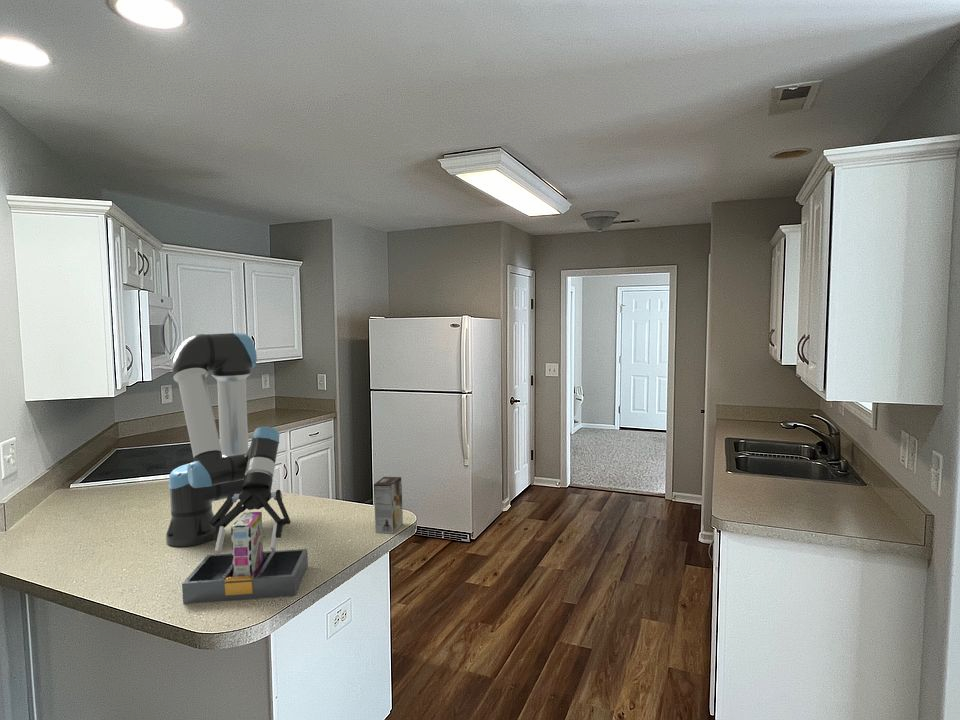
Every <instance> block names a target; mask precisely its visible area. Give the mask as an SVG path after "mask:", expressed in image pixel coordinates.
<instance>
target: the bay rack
mask: <svg viewBox="0 0 960 720" xmlns="http://www.w3.org/2000/svg"><path fill="white" fill-rule="evenodd" d="M308 553H309V552H308V548H299V549H297V548H296V549H283V550H276V551H274V552H272V550H269V551H268V550H266V551H264V550H263V566H262V568H261V569H260V571H259V573H258V574H257V576H256V577H254V575H251V576H236V577H233V565H232V552H231V553H221V555H217V553H215V554H207V555H206V556H205V557H204V559H202V561H201V562H200V563H199V564H198V565H197V566H196V568H194V569H193V571H192V572H191V573H190V574H189V575H188V576H187V578H186V579H185V580H184V581H183V582H182V583H181V585H182V586H181V588H182V591H181V592H182V604H183V605H184V604H194V603H195V604H197V603H210V602H212V603H214V602H224V601H225V602H226V601H239V600H250V599H251V600H252V599H254V600H255V599H266V598H267V599H268V598H280V596H283V597H295V596H296V594H297V592H298V590H299V588H300V586H301V583H302V581H303V579H304V577H303V576H305V574H306V572H305V571H307V570H306V569H308V568H309V560H308V559H309V557H308V556H309V555H308ZM307 567H308V568H307ZM302 578H303V579H302ZM278 596H279V597H278Z"/></svg>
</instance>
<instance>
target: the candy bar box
mask: <svg viewBox="0 0 960 720" xmlns="http://www.w3.org/2000/svg"><path fill="white" fill-rule="evenodd" d="M262 516H263V514H262V511H250V512H242V514H241V515H240V517H238V519H237V520H236V521H234V523H233V524H232V525H231V527H230V531H231V532H230V534H231V536H230V538H231V553H232V565H233V577H236V576H251V575H254V577H256V576H257V574H258V573H259V571H260V569H261V568H262V566H263V551H264V550H263V549H264V546H263V520H262V519H263V517H262Z"/></svg>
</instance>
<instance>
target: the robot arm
mask: <svg viewBox="0 0 960 720" xmlns="http://www.w3.org/2000/svg"><path fill="white" fill-rule="evenodd" d="M257 359H258V358H257V351H256V347H255V344H254V342H253V340H252V338H251V337H250V336H249V335H248V334H247V333H239V332H238V333H237V332H232V333H231V332H229V333H228V332H227V333H207V334H205V333H201V334H200V333H198V334H195V335H192V336H190V337H188V338H187V339H185V340H184V341H183V342H182V343H181V344H180V345H179V346H178V348H177V349H176V351H175V354H174V356H173V359H172V363H171V372H172V378H173V381H174V382H176V383H177V384H178V387H179V393H180V398H181V403H182V404H181V405H182V409H183V413H184V417H185V424H186V428H187V432H188V436H189V442H190V447H191V451H192V452H191V453H192V457H193V461H192V462H190V463H186V464H183V465H180V466H178V467H175V468H174V469H172V471H170V473H169V479H168V481H169V482H168V489H169V499H170V500H169V501H170V502H169V503H170V515H171V516H170V520H169V524H168V526H167V531H166V535H165V537H166V538H165V542H166V544H167V545H169V546H172V547H189V546H190V547H191V546H196V545H201V544H205V543H207V542H210V541H213V540H214V541H215V548H214V552H215V554H217V555H221V554H222V552H223V551H222V550H223V547H224V541H225V537H226V532H227V531H226V527H227V526H228V525H229V524H230V523H231V522H233V521H234V520H235V519H236V518H237V517H238V516H239V515H240V514H241V513H245V511H246V510H248V511H251V510H261V509H262V508H264V510H265V511H266V512H267V513H268V514H269V516H270V517H271V518H272V519H273V521H274V522H275V523H273V525H272V526H273V528H272V533H271V539H270V546H269V548H270V551H272V552H274V551H277V543H278V539H281V538H282V535H283V530H284V529H283V527H284V526H286V525H290V524H291V522H292V521H291V519H290V517H289V514H288V512H287V510H286V506H285V505H284V502H283V493H282V491H281V489H277V490H276V491H273V492H272V486H273V482H274V481H273V478H274V475H275V474H274V473H275V469H276V460H277V457H278V456H277V455H278V450H279V444H280V436H281V435H280V433H279V431H278V430H277V429H276V428H274V427H271V426H259V427H257V428H256V429H254V431H253V434H252V437H251V441H250V445H249V434H248V433H249V429H248V407H247V406H248V403H247V378H248V377H249V376H250V375H251V369H253V368H255V367H256V365H257V361H258V360H257ZM209 372H211V376H212V377H213V378H214V379H215V380H216V382H217V383H216V384H217V385H216V386H217V402H218V403H217V404H218V405H217V406H218V427H219V433H218V429H217V423H216V420H215V415H214V411H213V407H212V401H211V398H210V397H211V396H210V393H209V388H208V383H207V379H206V378H208V377H207V376H208V375H209ZM272 498H273V500H274V501H276V502H277V504H278V506H279V509H280V512H281V514H282V517H283V518H281V517H280V516H279V514H277V512H276V511H275V510H274V508H272V506H271V505H270V503H269V501H270V500H271V499H272ZM221 500H225V501H224V502H223V504H222V505H221V506H220V507H219V509H218V510H217V512H216V513H215V514H214V512H213V505H212V504H213V502H215V501H221ZM238 500H239V501H238ZM237 501H238V502H237ZM236 502H237V503H236ZM234 503H236V505H235V506H234V507H233V505H234ZM232 507H233V508H232ZM231 508H232V509H231Z"/></svg>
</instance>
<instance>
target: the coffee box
mask: <svg viewBox="0 0 960 720" xmlns="http://www.w3.org/2000/svg"><path fill="white" fill-rule="evenodd" d="M402 488H403V487H402V477H401V476H383V477H382V478H380V479H378V480H377V482H375V483H373V495H374V496H373V497H374V520H375V521H374V523H375V525H374V527H375V528H374V529H375V533H376V534H395V533H396V531H397V530H399V528H400V527H401V526H403V524H404V518H403V517H404V516H403V513H404V512H403V492H402V491H403V489H402Z"/></svg>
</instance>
